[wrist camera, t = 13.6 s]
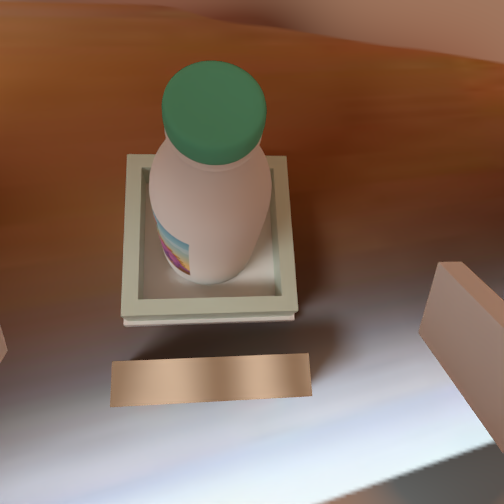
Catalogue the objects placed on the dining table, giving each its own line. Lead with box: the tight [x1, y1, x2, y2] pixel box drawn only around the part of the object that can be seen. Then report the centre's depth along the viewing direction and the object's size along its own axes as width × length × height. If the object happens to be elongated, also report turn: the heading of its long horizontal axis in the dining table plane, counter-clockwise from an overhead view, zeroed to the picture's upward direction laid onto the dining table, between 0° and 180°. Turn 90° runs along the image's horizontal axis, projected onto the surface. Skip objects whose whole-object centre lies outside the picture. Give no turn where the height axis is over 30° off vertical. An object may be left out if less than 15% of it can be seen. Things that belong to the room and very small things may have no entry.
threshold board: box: [110, 353, 312, 407], centre depth 33 cm, size 14×3×5 cm, turn 93°
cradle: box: [121, 154, 298, 327], centre depth 37 cm, size 14×14×4 cm
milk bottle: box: [149, 61, 272, 285], centre depth 28 cm, size 8×8×20 cm
